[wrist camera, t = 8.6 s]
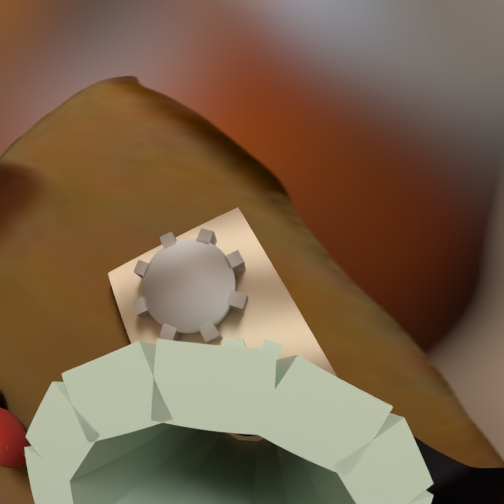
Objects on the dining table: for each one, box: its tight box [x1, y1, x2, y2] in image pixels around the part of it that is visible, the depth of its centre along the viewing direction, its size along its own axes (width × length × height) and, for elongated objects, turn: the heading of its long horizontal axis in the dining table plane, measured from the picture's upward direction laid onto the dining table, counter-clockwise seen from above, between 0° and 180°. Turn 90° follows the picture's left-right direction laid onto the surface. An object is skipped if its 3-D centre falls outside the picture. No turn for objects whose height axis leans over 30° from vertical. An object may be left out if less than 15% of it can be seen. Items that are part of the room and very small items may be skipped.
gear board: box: [108, 208, 336, 441], centre depth 14 cm, size 25×11×5 cm, turn 28°
